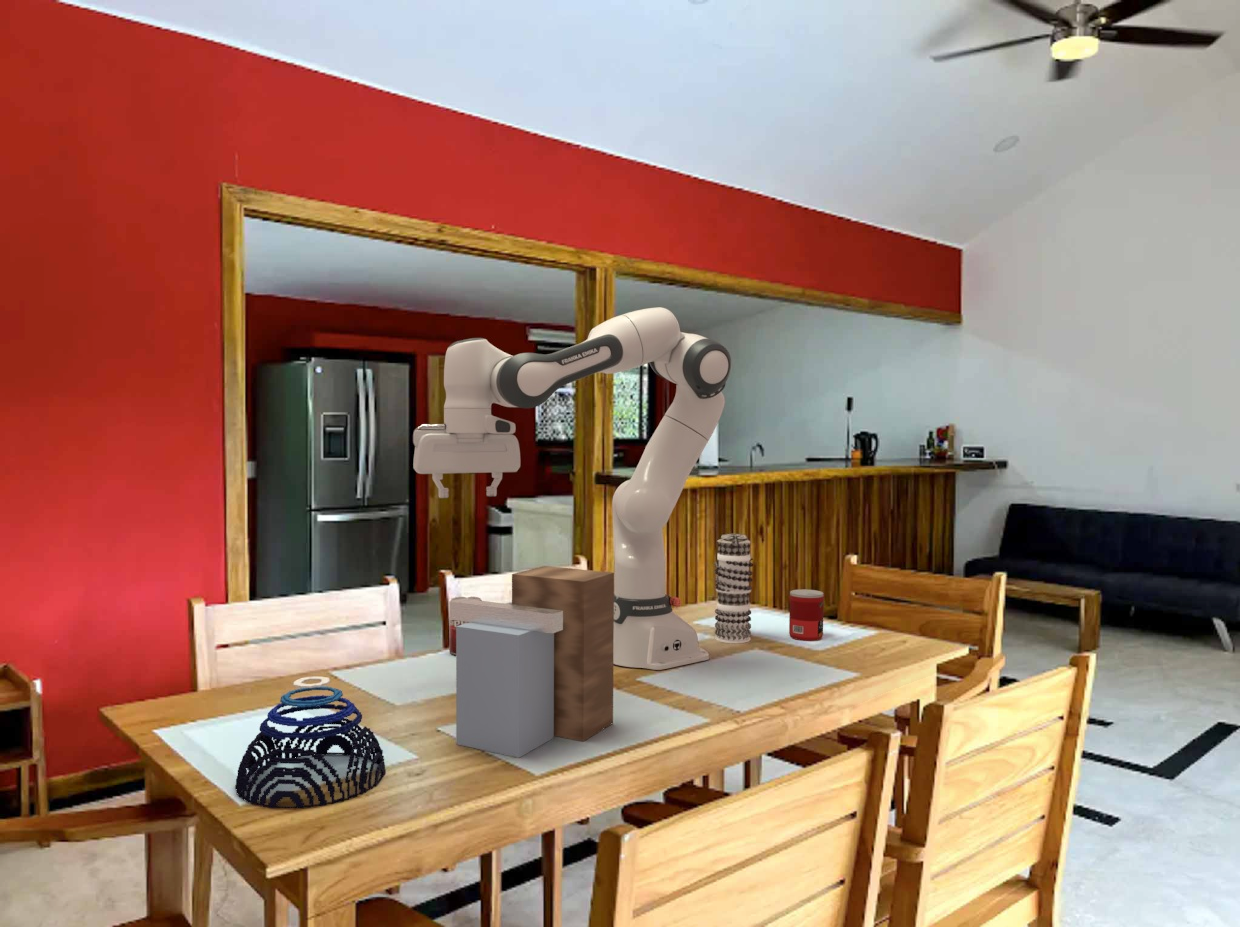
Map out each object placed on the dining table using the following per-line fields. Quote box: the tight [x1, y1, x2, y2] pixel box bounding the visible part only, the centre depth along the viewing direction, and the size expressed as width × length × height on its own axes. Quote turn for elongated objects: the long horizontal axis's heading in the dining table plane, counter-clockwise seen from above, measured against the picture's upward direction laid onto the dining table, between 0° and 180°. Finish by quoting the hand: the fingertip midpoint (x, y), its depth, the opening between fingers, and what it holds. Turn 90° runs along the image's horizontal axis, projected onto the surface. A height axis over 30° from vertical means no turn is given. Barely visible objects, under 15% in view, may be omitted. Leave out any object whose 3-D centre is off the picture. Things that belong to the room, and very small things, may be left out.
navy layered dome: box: [234, 675, 387, 809], centre depth 130 cm, size 20×20×14 cm
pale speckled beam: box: [448, 598, 563, 634], centre depth 145 cm, size 20×3×3 cm, turn 62°
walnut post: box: [511, 565, 615, 742], centre depth 154 cm, size 14×10×26 cm
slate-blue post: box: [455, 622, 555, 759], centre depth 146 cm, size 12×10×19 cm
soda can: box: [448, 595, 483, 656], centre depth 202 cm, size 7×7×12 cm
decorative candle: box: [714, 533, 754, 645], centre depth 216 cm, size 9×9×25 cm
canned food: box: [788, 588, 825, 642], centre depth 218 cm, size 8×8×11 cm
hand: (467, 496), depth 173 cm, fingers open, 8 cm apart
